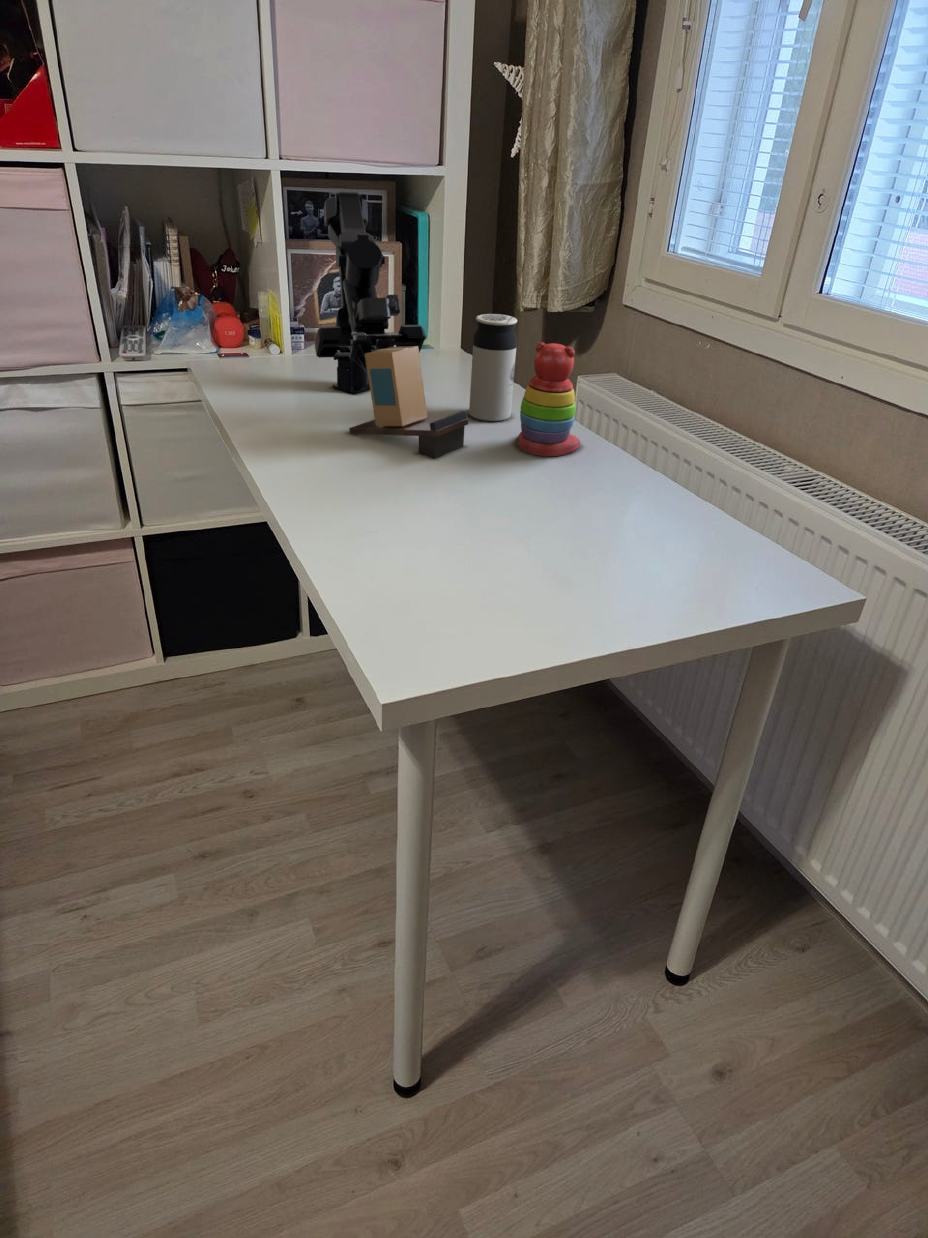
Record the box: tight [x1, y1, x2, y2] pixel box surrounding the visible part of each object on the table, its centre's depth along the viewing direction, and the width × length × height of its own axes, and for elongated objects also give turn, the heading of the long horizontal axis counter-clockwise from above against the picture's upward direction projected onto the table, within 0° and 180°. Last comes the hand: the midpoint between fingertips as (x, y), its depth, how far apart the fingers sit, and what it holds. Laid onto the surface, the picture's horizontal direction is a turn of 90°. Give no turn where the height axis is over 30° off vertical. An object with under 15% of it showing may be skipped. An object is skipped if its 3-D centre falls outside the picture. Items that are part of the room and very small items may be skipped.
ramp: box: [348, 410, 469, 460], centre depth 146 cm, size 19×9×6 cm, turn 55°
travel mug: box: [468, 313, 518, 422], centre depth 158 cm, size 8×8×18 cm
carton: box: [365, 346, 428, 426], centre depth 144 cm, size 8×7×13 cm
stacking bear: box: [516, 341, 581, 457], centre depth 144 cm, size 11×10×18 cm
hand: (378, 384), depth 146 cm, fingers closed
